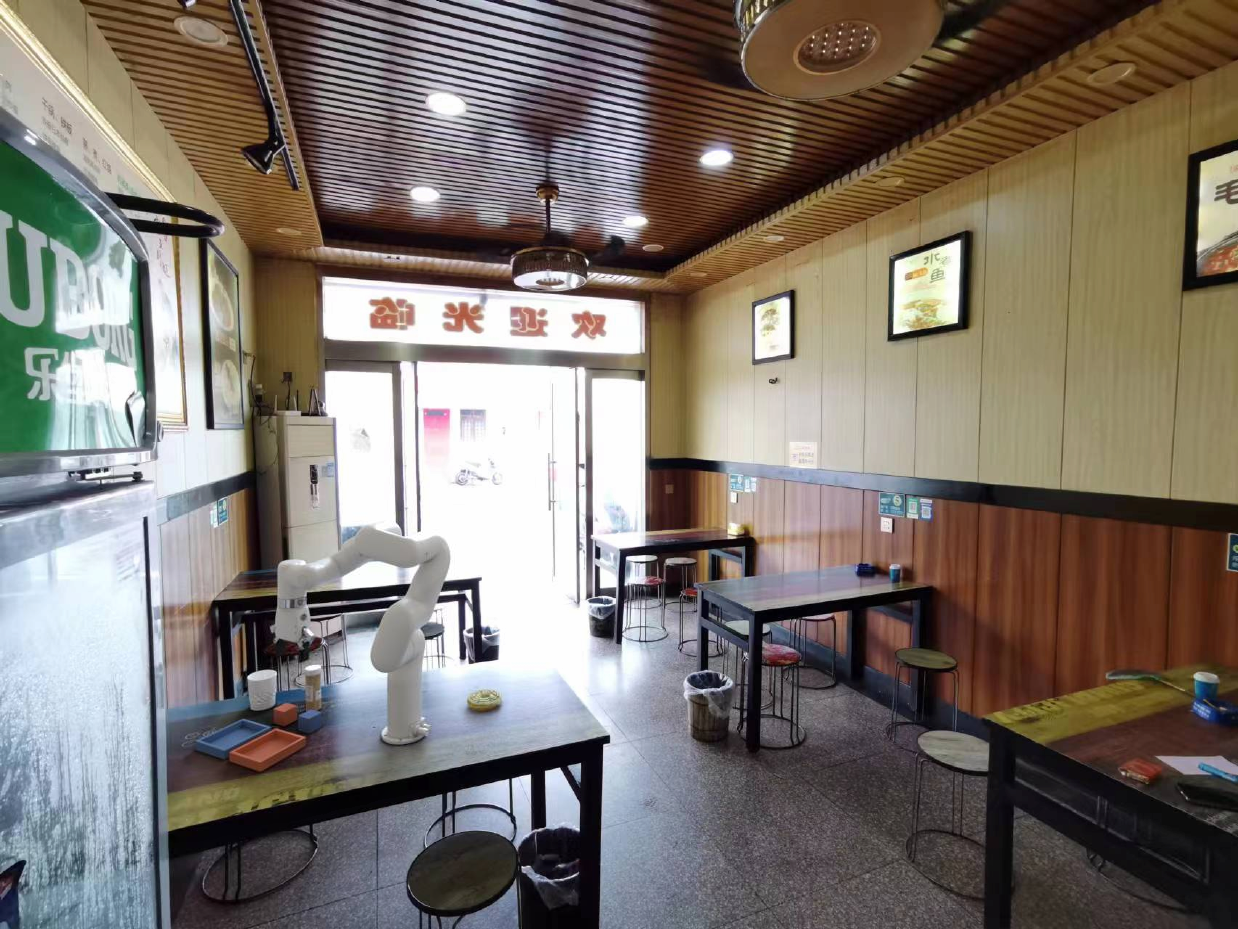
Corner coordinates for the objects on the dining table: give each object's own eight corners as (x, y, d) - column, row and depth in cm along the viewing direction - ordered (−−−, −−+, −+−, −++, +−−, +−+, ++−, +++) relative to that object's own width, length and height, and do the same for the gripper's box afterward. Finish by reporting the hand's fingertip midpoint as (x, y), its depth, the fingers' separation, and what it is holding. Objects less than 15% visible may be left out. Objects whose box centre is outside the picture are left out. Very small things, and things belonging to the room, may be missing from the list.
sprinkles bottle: (323, 709, 186) (323, 667, 185) (307, 714, 183) (307, 671, 182) (318, 704, 189) (318, 663, 188) (303, 708, 186) (302, 666, 185)
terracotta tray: (305, 745, 165) (305, 737, 165) (260, 771, 153) (260, 762, 152) (276, 736, 169) (276, 728, 169) (229, 761, 157) (229, 752, 157)
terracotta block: (297, 719, 179) (297, 705, 179) (284, 726, 175) (284, 712, 175) (286, 716, 181) (286, 702, 181) (273, 723, 177) (273, 709, 177)
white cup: (282, 703, 189) (282, 672, 189) (258, 714, 182) (258, 682, 181) (266, 698, 193) (265, 668, 192) (242, 708, 185) (241, 677, 185)
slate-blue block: (321, 726, 176) (321, 712, 175) (309, 733, 172) (309, 718, 171) (311, 723, 177) (310, 709, 177) (298, 730, 173) (297, 715, 173)
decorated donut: (506, 708, 190) (507, 696, 189) (474, 716, 184) (474, 705, 183) (494, 695, 198) (494, 684, 198) (462, 703, 192) (463, 691, 192)
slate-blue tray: (271, 735, 170) (271, 726, 170) (224, 759, 158) (224, 750, 157) (243, 726, 174) (243, 718, 174) (195, 749, 162) (195, 741, 162)
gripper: (324, 603, 176) (323, 659, 177) (283, 594, 183) (282, 648, 184) (301, 610, 169) (301, 668, 171) (260, 600, 176) (260, 657, 177)
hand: (292, 658), depth 177 cm, fingers open, 9 cm apart
